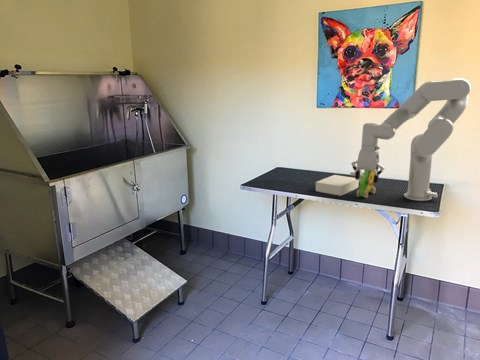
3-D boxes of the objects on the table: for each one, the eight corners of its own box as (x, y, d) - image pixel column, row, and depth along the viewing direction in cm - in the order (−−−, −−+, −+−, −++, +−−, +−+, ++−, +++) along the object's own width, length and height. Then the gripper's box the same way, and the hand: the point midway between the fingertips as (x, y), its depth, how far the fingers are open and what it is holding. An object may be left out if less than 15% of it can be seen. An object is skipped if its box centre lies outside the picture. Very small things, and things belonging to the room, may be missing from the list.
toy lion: (366, 199, 198) (367, 169, 195) (355, 197, 202) (357, 168, 198) (377, 191, 210) (379, 163, 207) (367, 190, 214) (369, 162, 210)
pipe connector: (368, 184, 224) (369, 167, 221) (350, 184, 226) (351, 167, 223) (367, 180, 233) (368, 163, 231) (349, 180, 235) (350, 163, 233)
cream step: (358, 187, 219) (358, 178, 218) (340, 195, 205) (341, 186, 204) (334, 183, 229) (334, 174, 228) (315, 190, 215) (315, 182, 214)
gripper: (389, 149, 197) (385, 182, 202) (356, 145, 208) (354, 176, 213) (382, 151, 192) (379, 185, 196) (349, 147, 203) (347, 179, 207)
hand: (366, 180), depth 204 cm, fingers open, 9 cm apart
